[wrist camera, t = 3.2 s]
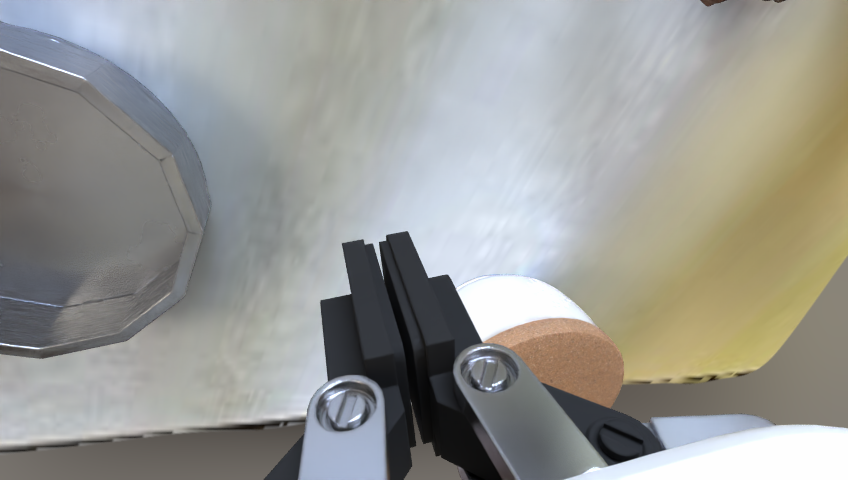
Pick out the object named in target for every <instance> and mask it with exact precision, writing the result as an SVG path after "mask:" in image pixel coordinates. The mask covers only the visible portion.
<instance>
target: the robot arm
mask: <svg viewBox="0 0 848 480" xmlns="http://www.w3.org/2000/svg"><path fill="white" fill-rule="evenodd" d="M342 247H343V252H344V257H345V263H346V268H347V273H348V278H349V284H350V289H351V294H350V295H345V296H340V297H335V298H330V299H325V300H321V302H320V304H321V315H322V325H323V335H324V346H325V356H326V366H327V376H328V382H327V383H325V384H324V385H323V386H322V387H320V388H319V389H318V390H317V391H316V393H315V394H314V395H313V397H312V398H311V400H310V403H309V406H308V409H307V417H306V424H305V431H304V434H303V436H302V437H301V438H300V439H299V440H298V441H297V443H296V444H295V445H294V446H293V447H292V448H291V449H290V450H289V451H288V453H287V454H286V455H285V456H284V457H283V458H282V459H281V461H280V462H279V463H278V464H277V465H276V466H275V468H274V469H273V470H272V471H271V472H270V473H269V474H268V475H267V477H266V478H265V479H264V480H404V478H405V476H406V475H407V473H408V472H409V470H410V469H411V467H412V460H411V453H410V448H411V447H414V446H416V441H415V433H414V425H413V416H412V408H411V403H412V406H413V410H414V413H415V417H416V420H417V424H418V428H419V431H420V435H421V439H422V442H423V444H426V443H429V442H432V445H433V448H434V451H435V455H436V456H440V455H441V457H442V458H443V459H445V460H447V461H449V462H451V463H453V464H455V465H457V468H458V472H459V474H460V477H461V479H462V480H848V429H847V428H840V427H829V426H819V425H776V424H774V423H773V422H771V421H770V420H767V419H764V418H762V417H759V416H756V415H749V414H721V415H698V416H677V417H653V418H650V421H649V423H641V422H640V421H638V420H636V419H634V418H632V417H630V416H628V415H626V414H623V413H620V412H618V411H615V410H613V409H610V408H607V407H605V406H602V405H599V404H597V403H594V402H592V401H589V400H586V399H584V398H581V397H579V396H576V395H573V394H571V393H568V392H565V391H563V390H560V389H558V388H555V387H552V386H550V385H547V384H545V383H542V382H540V381H539V379H538V378H537V377H536V376H535V374H534V373H533V372H532V371H531V370H530V368H529V367H528V366H527V365H526V363H525V362H524V361H523V360H522V358H521V357H520V356H519V355H518V354H516V353H515V352H514V351H513V350H511V349H509V348H507V347H505V346H503V345H499V344H494V343H483V342H482V340H481V338H480V336H479V334H478V332H477V330H476V328H475V326H474V324H473V322H472V320H471V318H470V316H469V314H468V312H467V310H466V308H465V306H464V304H463V302H462V300H461V298H460V296H459V294H458V292H457V290H456V288H455V286H454V284H453V282H452V280H451V279H450V277H449V276H448V275H442V276H437V277H432V278H428V276H427V274H426V272H425V269H424V267H423V265H422V263H421V260H420V258H419V256H418V253H417V251H416V249H415V247H414V244H413V242H412V240H411V237H410V235H409V233H408V231H405V232H400V233H395V234H389V235H386V241H383V242H379V247H380V254H381V261H382V269H383V276H384V280H383V276H382V273H381V270H380V266H379V263H378V259H377V256H376V253H375V249H374V246H373V243H372V244H367V245H365V244H364V240H357V241H352V242H347V243H342Z"/></svg>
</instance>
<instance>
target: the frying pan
mask: <svg viewBox="0 0 848 480" xmlns="http://www.w3.org/2000/svg"><path fill="white" fill-rule="evenodd" d="M210 208H211V200H210V197H209V195H208V192H207V186H206V179H205V176H204V172H203V168H202V165H201V162H200V160H199V157H198V155H197V153H196V150H195V148H194V146H193V144H192V142H191V141H190V139H189V137H188V136H187V133H186V131H185V130H184V129H183V128H182V126H181V125H180V124H179V122H178V121H177V120H176V119H175V117H174V116H173V115H172V113H171V112H170V111H169V110H168V109H167V108H166V107H165V106H164V105H163V104H162V102H161V101H160V100H159V99H158V98H157V97H156V96H155V95H154V94H153V93H152V92H150V91H149V90H148V89H147V88H146V87H144V86H143V85H142V84H141V83H140V82H138V81H137V80H136V79H135V78H134V77H132V76H131V75H129V74H128V73H126V72H125V71H123V70H122V69H120V68H119V67H117V66H116V65H114V64H113V63H111V62H110V61H108V60H106V59H104V58H102V57H100V56H99V55H97V54H95V53H93V52H91V51H89V50H88V49H85V48H83V47H81V46H78V45H76V44H74V43H71V42H69V41H66V40H64V39H62V38H59V37H56V36H53V35H49V34H46V33H43V32H40V31H36V30H33V29H29V28H24V27H19V26H14V25H9V24H7V23H4V22H1V21H0V354H4V355H13V356H22V357H30V358H39V359H41V358H42V359H44V358H48V357H53V356H58V355H63V354H67V353H72V352H77V351H82V350H86V349H91V348H96V347H100V346H105V345H110V344H115V343H119V342H124V341H127V340H129V339H130V338H131V337H133V336H134V335H135V334H137V333H138V332H139V331H141V330H142V329H143V328H145V327H146V326H147V325H149V324H150V323H151V322H152V321H154V320H155V319H156V318H158V317H159V316H160V315H162V314H163V313H164V312H166V311H167V310H168V309H170V308H171V307H172V306H174V305H175V304H176V303H178V302H179V301H180V300H181V299H183V298H184V296H185V294H186V291H187V288H188V284H189V281H190V278H191V274H192V271H193V268H194V264H195V261H196V258H197V254H198V251H199V248H200V244H201V241H202V238H203V234H204V231H205V227H206V223H207V219H208V215H209V211H210Z"/></svg>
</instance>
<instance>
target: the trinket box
mask: <svg viewBox="0 0 848 480" xmlns="http://www.w3.org/2000/svg"><path fill="white" fill-rule="evenodd" d="M456 290H457V292H458V294H459V296H460V298H461V300H462V302H463V304H464V306H465V308H466V310H467V312H468V314H469V316H470V318H471V320H472V322H473V324H474V326H475V328H476V330H477V332H478V334H479V336H480V338H481V340H482V342H483V343H494V344H499V345H503V346H505V347H507V348H509V349H511V350H513V351H514V352H515V353H516V354H518V355H519V356H520V357H521V358H522V360H523V361H524V362H525V363H526V365H527V366H528V367H529V368H530V370H531V371H532V372H533V373H534V374H535V376H536V377H537V378H538V379H539V381H540V382H542V383H545V384H547V385H550V386H552V387H555V388H558V389H560V390H563V391H565V392H568V393H571V394H573V395H576V396H579V397H581V398H584V399H586V400H589V401H592V402H594V403H597V404H599V405H602V406H605V407H607V408H611V406H612V405H613V403H614V401H615V399H616V397H617V396H618V393H619V391H620V389H621V386H622V383H623V376H624V362H623V359H622V355H621V353H620V351H619V350H618V348H617V346H616V345H615V344H614V342H613V341H612V340H611V339H610V338H609V337H608V336H607V335H606V334H605V333H604V332H603V331H602V330H601V329H600V328H598V327H597V326H596V324H595V323H594V322H593V321H592V320H591V319H590V318H589V316H588V315H587V314H586V313H585V312H584V311H583V310H582V309H581V308H580V307H578V306H577V305H576V304H575V303H574V302H573V301H572V300H571V299H569V298H568V297H567V296H566V295H564V294H563V293H562V292H560V291H559V290H557V289H556V288H554V287H552V286H550V285H549V284H547V283H544V282H542V281H540V280H537V279H534V278H531V277H526V276H520V275H487V276H481V277H477V278H474V279H471V280H469V281H467V282H465V283H463V284H461V285H460V286H458V287H457V288H456Z"/></svg>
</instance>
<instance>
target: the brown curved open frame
mask: <svg viewBox="0 0 848 480" xmlns="http://www.w3.org/2000/svg"><path fill="white" fill-rule="evenodd" d="M724 1H726V0H701V2H702V3H703V4H705V5H706V6H711V5H713V4H716V3H721V2H724ZM764 1H770V0H764ZM774 1H775V2H777V3H779V2H782V1H785V0H774Z"/></svg>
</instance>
